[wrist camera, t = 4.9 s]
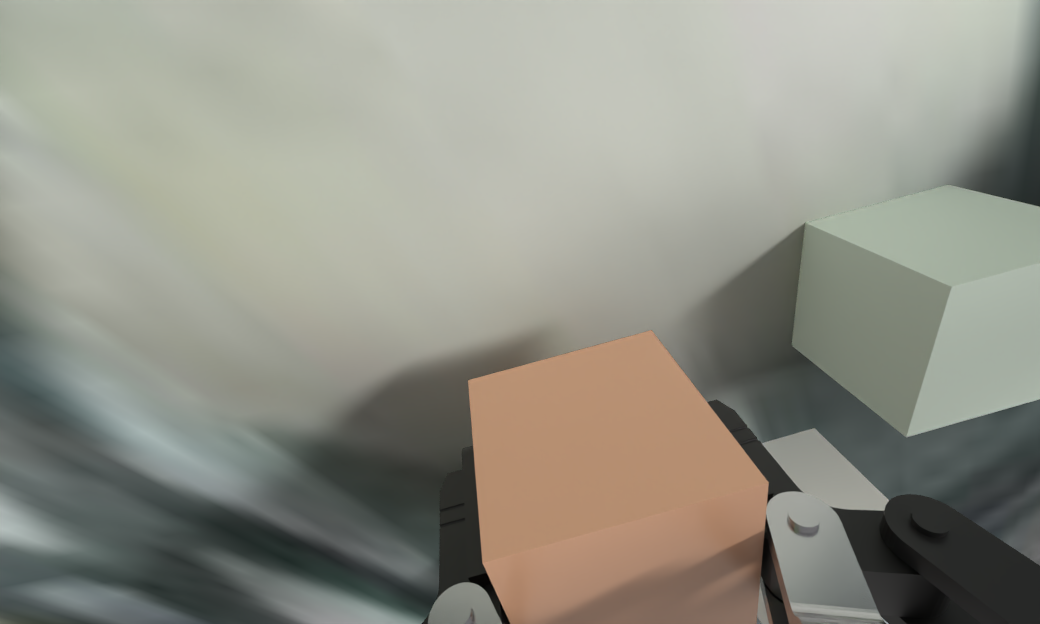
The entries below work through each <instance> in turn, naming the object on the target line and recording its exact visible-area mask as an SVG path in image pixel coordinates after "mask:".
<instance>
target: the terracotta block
mask: <svg viewBox="0 0 1040 624" xmlns="http://www.w3.org/2000/svg"><path fill="white" fill-rule="evenodd" d="M468 387H469V399H470V412H471V424H472V437H473V450H474V462H475V475H476V488H477V500H478V513H479V525H480V538H481V551H482V563H483V565H484V567H485V570H486V572H487V574H488V576H489V578H490V581H491V583H492V585H493V587H494V589H495V591H496V594H497V596H498V598H499V600H500V602H501V604H502V607H503V609H504V611H505V613H506V615H507V617H508V620H509V622H510V624H756V623H757V611H758V600H759V589H760V577H761V566H762V554H763V543H764V532H765V520H766V509H767V497H768V486H769V482H768V481H767V480H766V478H765V477H764V476H763V475H762V473H761V472H760V471H759V469H758V468H757V467H756V465H755V464H754V463H753V462H752V460H751V459H750V458H749V456H748V455H747V454H746V452H745V451H744V450H743V449H742V447H741V446H740V445H739V443H738V442H737V441H736V439H735V438H734V437H733V435H732V434H731V433H730V432H729V430H728V429H727V428H726V426H725V425H724V424H723V422H722V421H721V420H720V419H719V417H718V416H717V415H716V413H715V412H714V411H713V409H712V408H711V407H710V406H709V404H708V403H707V402H706V400H705V399H704V398H703V396H702V395H701V394H700V392H699V391H698V390H697V389H696V387H695V386H694V385H693V383H692V382H691V381H690V379H689V378H688V377H687V376H686V374H685V373H684V372H683V370H682V369H681V368H680V366H679V365H678V364H677V363H676V361H675V360H674V359H673V357H672V356H671V355H670V353H669V352H668V351H667V349H666V348H665V347H664V346H663V344H662V343H661V342H660V340H659V339H658V338H657V336H656V335H655V334H654V333H653V331H652V330H650V331H647V332H643V333H639V334H636V335H632V336H628V337H625V338H621V339H617V340H614V341H610V342H606V343H603V344H599V345H595V346H592V347H588V348H584V349H581V350H577V351H573V352H570V353H566V354H562V355H559V356H555V357H551V358H548V359H544V360H540V361H537V362H533V363H529V364H526V365H522V366H518V367H515V368H511V369H507V370H504V371H500V372H496V373H493V374H489V375H485V376H482V377H478V378H474V379H471V380H468Z"/></svg>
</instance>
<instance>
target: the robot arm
mask: <svg viewBox="0 0 1040 624" xmlns="http://www.w3.org/2000/svg"><path fill="white" fill-rule="evenodd" d="M707 403H708V404H709V406H710V407H711V408H712V409H713V411H714V412H715V413H716V415H717V416H718V417H719V419H720V420H721V421H722V422H723V424H724V425H725V426H726V428H727V429H728V430H729V432H730V433H731V434H732V435H733V437H734V438H735V439H736V441H737V442H738V443H739V445H740V446H741V447H742V449H743V450H744V451H745V452H746V454H747V455H748V456H749V458H750V459H751V460H752V462H753V463H754V464H755V465H756V467H757V468H758V469H759V471H760V472H761V473H762V475H763V476H764V477H765V478H766V480H767V481H768V482H769V486H768V497H767V509H766V520H765V532H764V543H763V554H762V566H761V577H760V586H761V591H762V595H763V600H764V604H765V608H766V613H767V617H768V622H769V624H886V623H885V622H884V621H883V619H884V620H886V621H887V622H888V623H889V624H1040V566H1039V565H1038V564H1036V563H1035V562H1033V561H1032V560H1030V559H1029V558H1027V557H1026V556H1024V555H1023V554H1021V553H1020V552H1018V551H1017V550H1015V549H1014V548H1012V547H1010V546H1009V545H1007V544H1006V543H1004V542H1003V541H1001V540H1000V539H998V538H997V537H995V536H994V535H992V534H991V533H989V532H988V531H986V530H985V529H983V528H982V527H980V526H979V525H977V524H976V523H974V522H973V521H971V520H970V519H968V518H966V517H965V516H963V515H962V514H960V513H959V512H957V511H956V510H954V509H953V508H951V507H949V506H948V505H946V504H944V503H942V502H940V501H938V500H935V499H932V498H929V497H925V496H921V495H911V494H907V495H900V496H896V497H894V498H892V499H891V500H890V501H888V503H887V504H886V506H885V510H884V511H878V510H849V509H839V508H834V507H831V506H829V505H828V504H826V503H825V502H824V501H822V500H820V499H819V498H817V497H815V496H812V495H809V494H806V493H804V492H802V491H801V490H800V489H799V488H798V487H797V486H796V484H795V483H794V482H793V481H792V480H791V478H790V477H789V476H788V475H787V474H786V472H785V471H784V470H783V469H782V467H781V466H780V465H779V464H778V463H777V461H776V460H775V459H774V458H773V457H772V455H771V454H770V453H769V452H768V451H767V449H766V448H765V447H764V446H763V444H762V443H761V442H760V441H758V440H757V437H756V436H755V435H754V434H753V432H752V431H751V430H750V429H749V428H747V425H746V424H745V423H744V422H743V420H742V419H741V418H740V417H739V415H738V414H737V413H736V412H735V411H734V410H733V409H731V408H729V407H728V406H726V405H724V404H723V403H721V402H719V401H718V400H714V401H710V402H707ZM881 617H882V618H883V619H882V618H881ZM422 624H510V622H509V620H508V617H507V615H506V613H505V611H504V609H503V607H502V604H501V602H500V600H499V598H498V596H497V594H496V591H495V589H494V587H493V585H492V583H491V581H490V578H489V576H488V574H487V572H486V570H485V567H484V565H483V563H482V551H481V538H480V525H479V513H478V500H477V488H476V475H475V462H474V450H473V446H470V447H467V448H463V449H462V470H458V471H455V472H451V473H448V474H447V476H446V478H445V481H444V483H443V485H442V488H441V490H440V568H439V593H438V597H437V600H436V601H435V603H434V605H433V607H432V609H431V611H430V614H429V615H428V617H427V618H426V619H425V620H424V622H423V623H422Z"/></svg>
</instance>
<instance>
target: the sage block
mask: <svg viewBox="0 0 1040 624" xmlns="http://www.w3.org/2000/svg"><path fill="white" fill-rule="evenodd" d="M792 346H793V347H794V348H795V349H797V350H798V351H799V352H800V353H802V354H803V355H804V356H805V357H807V358H808V359H809V360H810V361H812V362H813V363H814V364H815V365H817V366H818V367H819V368H820V369H821V370H823V371H824V372H825V373H826V374H828V375H829V376H830V377H831V378H833V379H834V380H835V381H836V382H838V383H839V384H840V385H841V386H843V387H844V388H845V389H846V390H848V391H849V392H850V393H851V394H853V395H854V396H855V397H856V398H858V399H859V400H860V401H861V402H863V403H864V404H865V405H866V406H868V407H869V408H870V409H871V410H873V411H874V412H875V413H876V414H878V415H879V416H880V417H881V418H883V419H884V420H885V421H886V422H888V423H889V424H890V425H891V426H893V427H894V428H895V429H896V430H898V431H899V432H900V433H901V434H903V435H904V436H905V437H909V436H913V435H916V434H920V433H923V432H927V431H930V430H933V429H937V428H940V427H944V426H947V425H951V424H954V423H958V422H961V421H965V420H968V419H972V418H975V417H979V416H982V415H986V414H989V413H993V412H996V411H1000V410H1003V409H1007V408H1010V407H1014V406H1017V405H1021V404H1024V403H1028V402H1031V401H1035V400H1038V399H1040V207H1039V206H1035V205H1031V204H1026V203H1022V202H1018V201H1014V200H1010V199H1006V198H1002V197H997V196H993V195H989V194H985V193H981V192H977V191H972V190H968V189H964V188H960V187H956V186H952V185H944V186H940V187H937V188H933V189H929V190H926V191H922V192H918V193H914V194H911V195H907V196H903V197H899V198H896V199H892V200H888V201H885V202H881V203H877V204H873V205H870V206H866V207H862V208H858V209H855V210H851V211H847V212H843V213H840V214H836V215H832V216H829V217H825V218H821V219H817V220H814V221H810V222H806V223H805V229H804V238H803V247H802V256H801V265H800V274H799V283H798V292H797V301H796V310H795V319H794V328H793V337H792Z"/></svg>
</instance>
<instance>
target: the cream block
mask: <svg viewBox="0 0 1040 624" xmlns="http://www.w3.org/2000/svg"><path fill="white" fill-rule="evenodd" d="M762 444H763V446H764V447H765V448H766V449H767V451H768V452H769V453H770V454H771V455H772V457H773V458H774V459H775V460H776V461H777V463H778V464H779V465H780V466H781V467H782V469H783V470H784V471H785V472H786V474H787V475H788V476H789V477H790V478H791V480H792V481H793V482H794V483H795V484H796V486H797V487H798V488H799V489H800V490H801V491H802V492H804V493H806V494H809V495H812V496H815V497H817V498H819V499H820V500H822V501H824V502H825V503H826V504H828V505H829V506H831V507H834V508H839V509H849V510H878V511H884V510H885V506H886V504H887V503H888V501H889V500H888V499H887V498H886V497H885V496H884V495H883V494H882V493H881V492H880V491H879V490H878V489H877V488H876V487H874V486H873V485H872V484H871V483H870V482H869V481H868V480H867V479H866V478H865V477H864V476H863V475H862V474H861V473H860V472H859V471H858V470H857V469H856V468H855V467H854V466H853V465H852V464H851V463H850V462H849V461H848V460H847V459H846V458H845V457H844V456H843V455H842V454H840V453H839V452H838V451H837V450H836V449H835V448H834V447H833V446H832V445H831V444H830V443H829V442H828V441H827V440H826V439H825V438H824V437H823V436H822V435H821V434H820V433H819V432H818V431H817V430H816V429H815V428H813V429H810V430H806V431H803V432H799V433H796V434H792V435H789V436H785V437H782V438H778V439H775V440H771V441H768V442H764V443H762ZM757 617H758V618H759V620H760V622H761V623H762V624H769V622H768V617H767V613H766V608H765V604H764V600H763V595H762V591H761V586H760V589H759V600H758V611H757Z"/></svg>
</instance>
